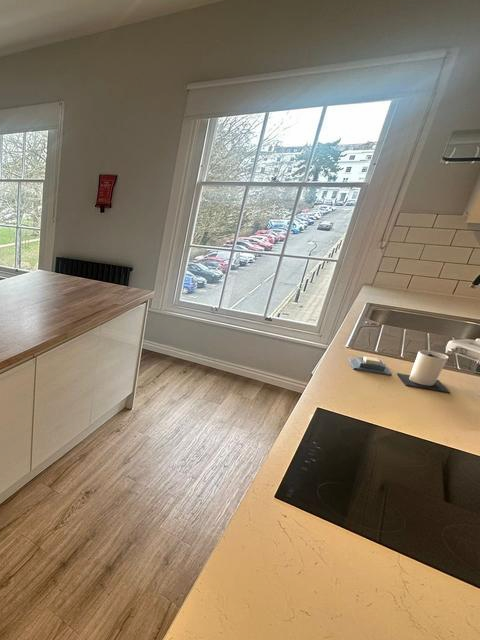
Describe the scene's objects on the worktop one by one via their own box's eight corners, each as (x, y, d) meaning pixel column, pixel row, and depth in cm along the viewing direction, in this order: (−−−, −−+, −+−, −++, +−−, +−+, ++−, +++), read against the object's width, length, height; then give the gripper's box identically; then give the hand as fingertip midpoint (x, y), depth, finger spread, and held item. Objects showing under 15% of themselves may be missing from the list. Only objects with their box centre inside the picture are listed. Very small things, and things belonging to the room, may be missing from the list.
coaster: (437, 381, 135) (438, 379, 134) (449, 393, 127) (450, 392, 127) (396, 374, 140) (397, 373, 140) (405, 386, 132) (406, 384, 132)
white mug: (401, 377, 137) (412, 350, 133) (420, 376, 137) (432, 350, 133) (422, 386, 131) (434, 358, 127) (442, 385, 131) (455, 358, 127)
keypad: (383, 365, 146) (386, 359, 145) (391, 376, 139) (393, 370, 138) (347, 360, 152) (349, 354, 151) (353, 369, 144) (355, 363, 143)
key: (376, 361, 145) (377, 358, 144) (378, 365, 142) (380, 361, 141) (362, 359, 147) (364, 356, 146) (365, 363, 144) (366, 359, 143)
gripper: (545, 379, 121) (499, 380, 122) (467, 352, 140) (427, 353, 141) (555, 361, 119) (509, 361, 119) (475, 336, 138) (435, 336, 138)
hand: (464, 357), depth 130 cm, fingers open, 8 cm apart
